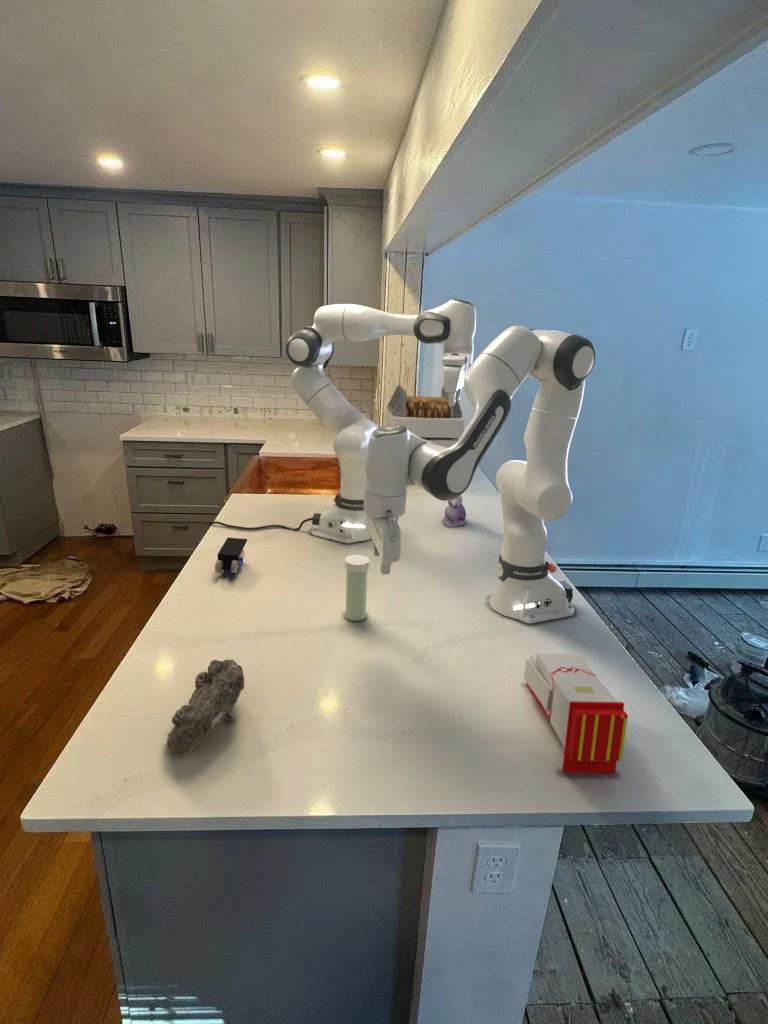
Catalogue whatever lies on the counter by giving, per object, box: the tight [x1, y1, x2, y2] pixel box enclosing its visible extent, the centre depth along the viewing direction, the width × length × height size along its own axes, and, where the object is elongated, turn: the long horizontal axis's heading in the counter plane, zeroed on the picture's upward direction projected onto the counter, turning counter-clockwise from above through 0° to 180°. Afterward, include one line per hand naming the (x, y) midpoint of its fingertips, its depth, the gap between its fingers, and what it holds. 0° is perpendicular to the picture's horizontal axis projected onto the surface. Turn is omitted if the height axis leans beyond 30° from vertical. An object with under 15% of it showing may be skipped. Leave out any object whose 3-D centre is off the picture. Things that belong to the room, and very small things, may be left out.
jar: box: [345, 569, 368, 622], centre depth 143 cm, size 5×5×15 cm
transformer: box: [385, 384, 465, 448], centre depth 268 cm, size 34×33×41 cm
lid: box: [344, 554, 371, 572], centre depth 141 cm, size 6×6×2 cm
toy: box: [523, 652, 628, 775], centre depth 110 cm, size 12×13×30 cm
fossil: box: [166, 658, 245, 754], centre depth 106 cm, size 22×10×15 cm
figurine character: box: [214, 537, 248, 578], centre depth 166 cm, size 7×8×15 cm
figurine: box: [443, 494, 467, 528], centre depth 210 cm, size 9×10×15 cm
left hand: (454, 403), depth 174 cm, fingers open, 8 cm apart
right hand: (380, 563), depth 123 cm, fingers open, 8 cm apart
